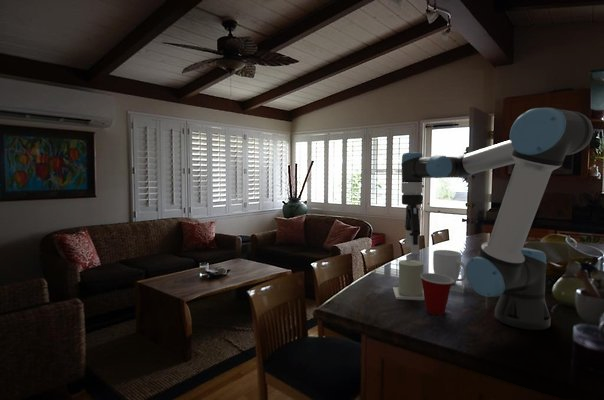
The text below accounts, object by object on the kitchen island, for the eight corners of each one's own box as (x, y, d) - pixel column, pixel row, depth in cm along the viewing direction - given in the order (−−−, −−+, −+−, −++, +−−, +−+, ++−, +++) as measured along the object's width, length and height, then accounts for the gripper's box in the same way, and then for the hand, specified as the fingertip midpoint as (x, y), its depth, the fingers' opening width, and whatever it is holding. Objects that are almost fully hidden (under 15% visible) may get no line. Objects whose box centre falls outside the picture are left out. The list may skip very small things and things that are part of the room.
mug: (474, 286, 152) (475, 254, 151) (458, 290, 146) (459, 258, 145) (443, 277, 164) (443, 248, 163) (427, 281, 158) (427, 251, 157)
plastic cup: (455, 319, 117) (456, 282, 116) (419, 316, 120) (420, 279, 119) (451, 307, 128) (452, 273, 127) (419, 304, 131) (419, 271, 130)
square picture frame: (429, 300, 135) (429, 298, 135) (396, 299, 137) (396, 296, 136) (423, 290, 147) (423, 288, 147) (392, 289, 148) (392, 286, 148)
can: (416, 287, 147) (416, 258, 146) (427, 295, 138) (428, 263, 137) (394, 289, 145) (394, 259, 144) (404, 296, 136) (405, 264, 135)
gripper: (428, 195, 126) (428, 256, 127) (416, 192, 151) (416, 244, 152) (406, 195, 127) (406, 256, 128) (398, 193, 152) (398, 244, 153)
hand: (412, 250), depth 140 cm, fingers open, 13 cm apart
